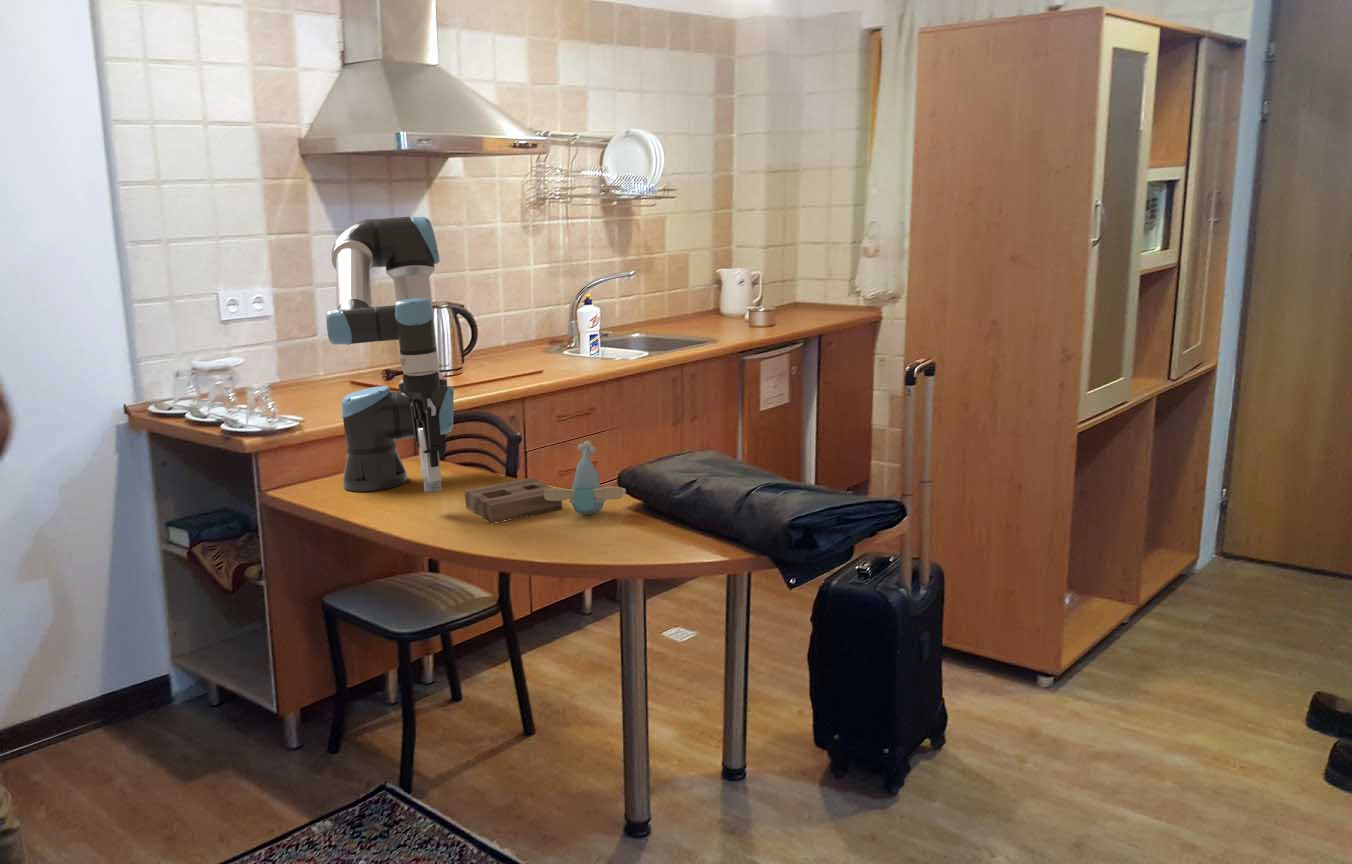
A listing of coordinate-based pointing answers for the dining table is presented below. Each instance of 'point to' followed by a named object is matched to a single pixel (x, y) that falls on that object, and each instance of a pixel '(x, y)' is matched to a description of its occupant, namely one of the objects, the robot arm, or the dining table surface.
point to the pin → (428, 486)
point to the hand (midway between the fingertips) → (431, 478)
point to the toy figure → (585, 486)
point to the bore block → (510, 500)
